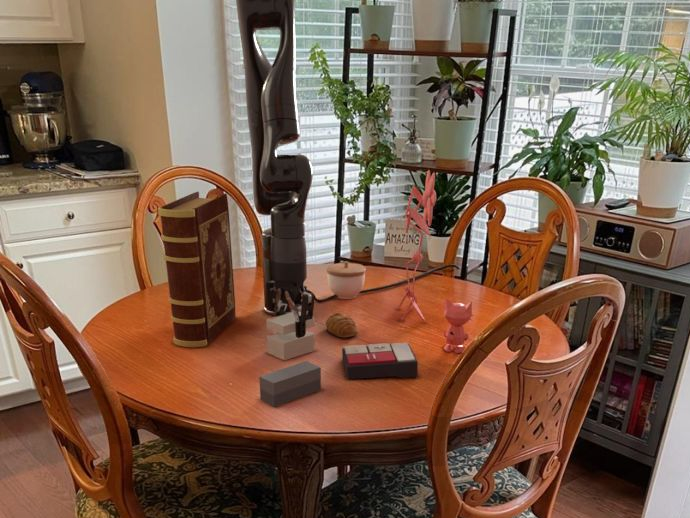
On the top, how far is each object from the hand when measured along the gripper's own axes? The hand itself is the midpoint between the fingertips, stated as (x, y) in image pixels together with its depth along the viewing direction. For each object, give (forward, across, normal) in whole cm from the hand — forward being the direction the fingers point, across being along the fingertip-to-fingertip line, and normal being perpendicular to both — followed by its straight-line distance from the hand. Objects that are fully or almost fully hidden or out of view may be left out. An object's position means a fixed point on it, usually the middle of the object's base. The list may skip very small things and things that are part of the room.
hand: (290, 332), depth 160 cm
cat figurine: (+5, -24, -29) cm, 38 cm away
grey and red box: (+5, -20, -8) cm, 22 cm away
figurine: (+5, -3, -43) cm, 43 cm away
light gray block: (+4, 0, 0) cm, 4 cm away
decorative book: (+5, +24, +7) cm, 25 cm away
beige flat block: (-1, 0, 0) cm, 1 cm away
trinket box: (+5, +23, -39) cm, 45 cm away
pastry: (+5, +2, -18) cm, 19 cm away
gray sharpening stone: (+4, -18, +15) cm, 24 cm away
